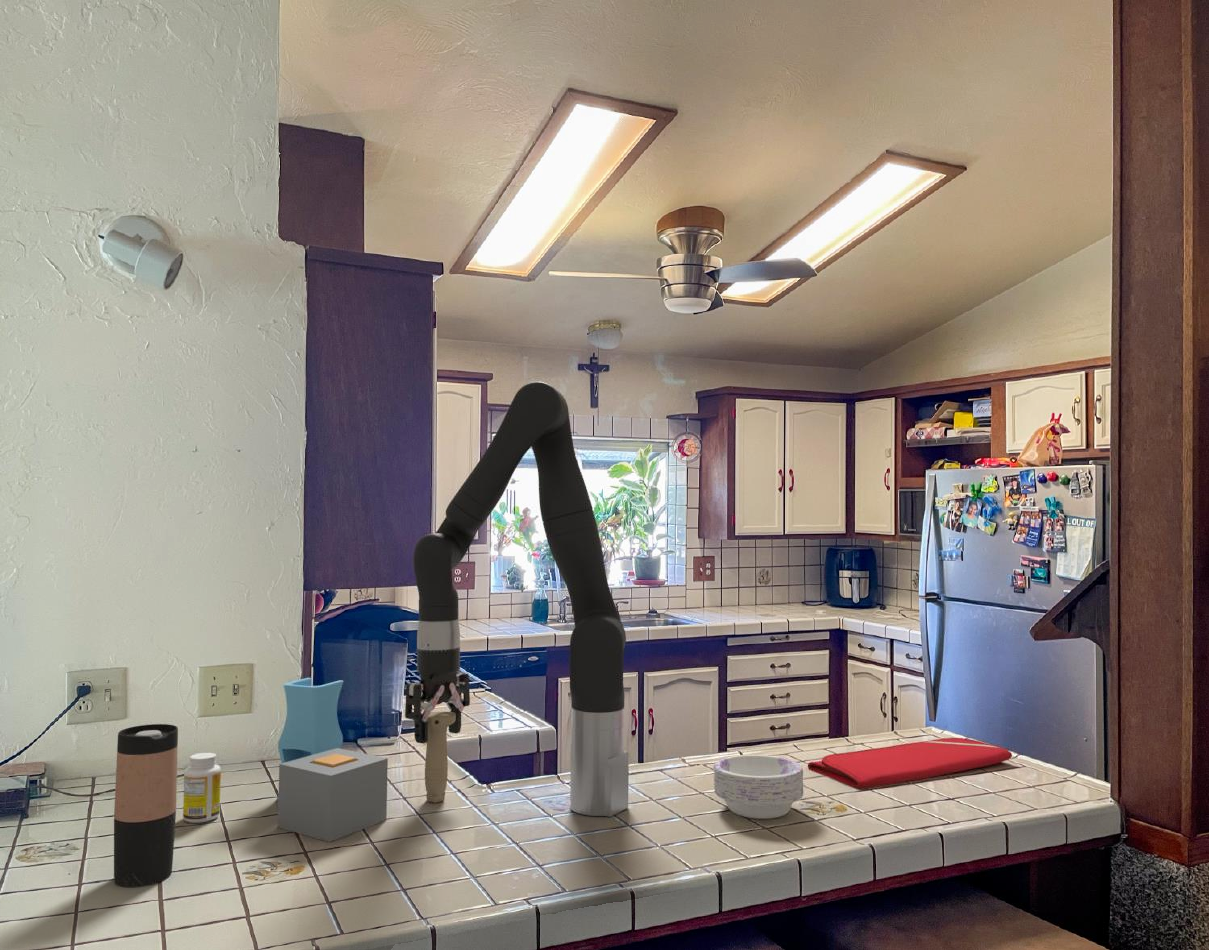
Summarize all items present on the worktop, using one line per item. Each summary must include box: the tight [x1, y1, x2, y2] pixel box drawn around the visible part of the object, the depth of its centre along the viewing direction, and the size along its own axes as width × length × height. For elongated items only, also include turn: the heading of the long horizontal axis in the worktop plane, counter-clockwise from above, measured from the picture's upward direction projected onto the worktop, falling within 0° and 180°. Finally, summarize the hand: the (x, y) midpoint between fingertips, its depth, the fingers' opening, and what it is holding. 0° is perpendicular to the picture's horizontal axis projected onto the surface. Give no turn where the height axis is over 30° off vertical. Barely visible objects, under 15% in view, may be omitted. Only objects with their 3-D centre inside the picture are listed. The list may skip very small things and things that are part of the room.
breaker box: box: [277, 748, 389, 842], centre depth 145 cm, size 12×12×10 cm
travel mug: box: [113, 723, 179, 888], centre depth 123 cm, size 8×8×20 cm
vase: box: [276, 677, 344, 800], centre depth 160 cm, size 8×8×20 cm
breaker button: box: [313, 754, 356, 768], centre depth 145 cm, size 5×5×4 cm
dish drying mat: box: [807, 737, 1013, 790], centre depth 182 cm, size 16×41×4 cm, turn 115°
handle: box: [421, 711, 456, 804], centre depth 157 cm, size 5×6×15 cm
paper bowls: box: [713, 754, 804, 820], centre depth 153 cm, size 15×15×8 cm
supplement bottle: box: [182, 752, 222, 824], centre depth 147 cm, size 6×6×10 cm
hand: (438, 737), depth 157 cm, fingers open, 8 cm apart
